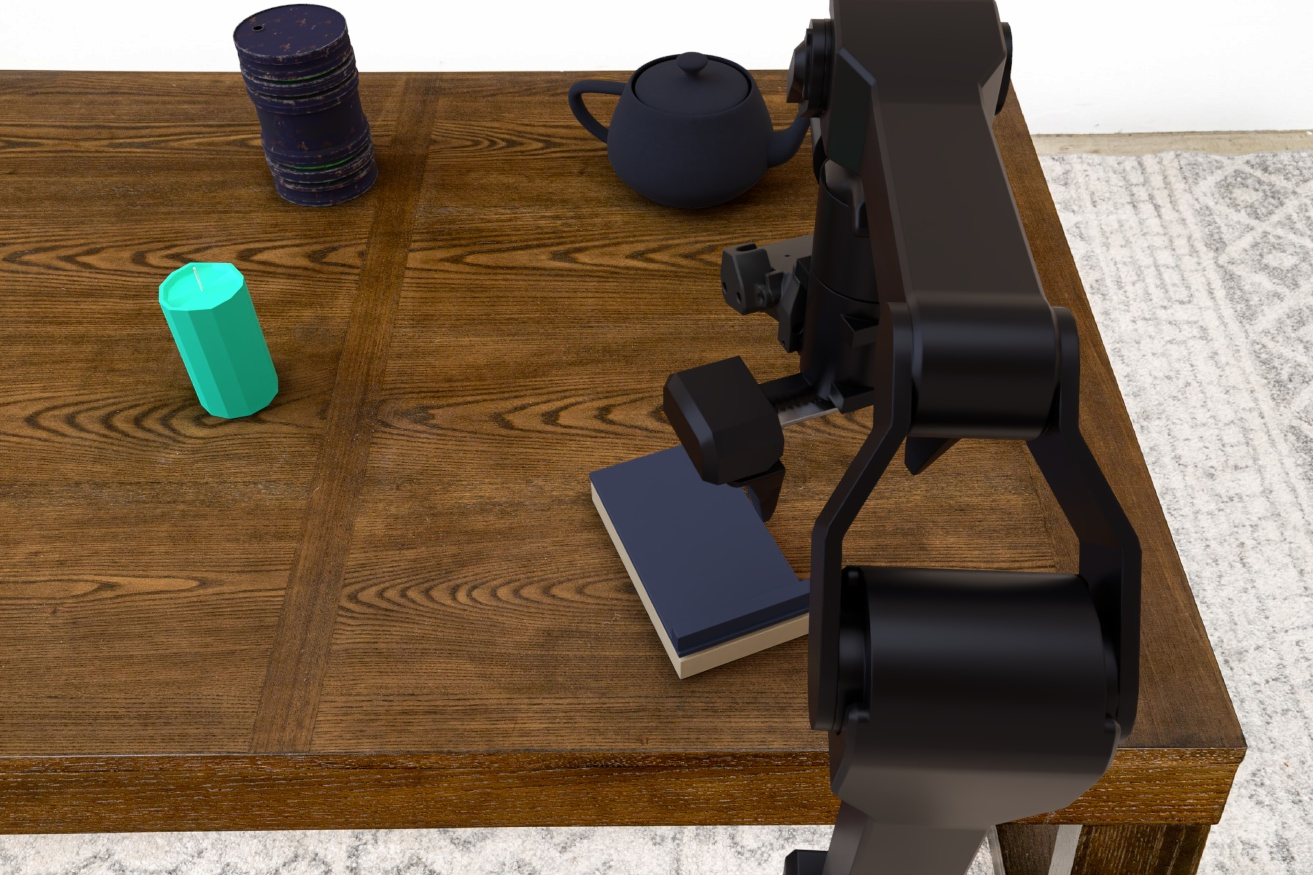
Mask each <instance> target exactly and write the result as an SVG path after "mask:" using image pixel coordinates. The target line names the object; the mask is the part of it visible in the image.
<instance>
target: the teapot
mask: <svg viewBox="0 0 1313 875" xmlns="http://www.w3.org/2000/svg"><path fill="white" fill-rule="evenodd" d="M583 94H601V95H602V94H603V95H612V96H618V97H619V99H618V101H617V102H616V105H615V108H614V110H613V112H612V116H611V119H610V122H609V128H607V127H606V126H605V125H603V124H601V122H599V120H597V119H596V117H594V116H593V114H592V113H591V112H590V111H589V109H588V108H587V106H586V104H585V102H584V98H583V96H582V95H583ZM762 94H763V93H762V92H761V90H760V88H759V86H758V83H757V81H756V80H755V77H754V76H753V74H751V72H750V71H749V70H747V68H745V67H744V66H742V65H741V64H740V63H738V62H736V61H734V60H731V59H728V58H726V57H722V56H718V55H715V54H714V55H713V54H706V53H702V52H698V51H685V52H682V53H675V54H669V55H664V56H660V57H658V58H655V59H652V60H649V61H648V62H646V63H643V65H640V66H639V67H638V68H637V69H635V71H634V72H633V73H632V74H631V75H630V77H629V78H628V80H627V82H622V81H617V80H616V81H615V80H604V79H581V80H578V81H576V82H574V83H573V84H572V85H571V86H570V87H569V89H568V93H567V100H568V101H567V102H568V105H569V109H570V111H571V112H572V114H573V116H574V117H575V120H577V121H578V123H579V124H580V125H581V126H582V127H583V128H584V129H585V130H586V132H589V133H590V134H591V135H592V136H593V137H595V138H596V139H597V140H599V141H601V142H602V143H604V144H606V151H607V157H608V161H609V163H610V165H611V168H612V170H613V171H614V173H615V175H617V176H618V178H619V179H620V180H621V181H622V182H623V183H624V184H625V185H626V186H628V187H629V188H630V189H632V190H633V191H634V192H636V193H638V194H640V195H641V196H643V197H644V198H646V199H647V200H650V201H652V202H654V203H656V204H658V205H661V206H662V205H663V206H666V207H671V208H677V209H695V210H696V209H705V208H711V207H716V206H719V205H723V204H725V203H728V202H730V201H733V200H734V199H736V198H737V197H739V196H740V195H742V194H744V193H746V192H748V191H749V190H750V189H752V188H753V187H754V186H756V184H758V183H759V182H760V181H761V180H762V179H763V178H764V176H765V175H766V174H767V172H768V170H769V169H773V168H777V167H780V166H783V165H784V164H786V163H788V162H789V161H790V160H792V158H794V157H795V155H796V154H797V153H798V152H799V150H800V148H801V146H802V144H803V142H804V140H805V138H806V137H807V136H806V135H807V133H808V131H809V129H810V118H799V111H798V112H797V113H796V115H795V118H794V120H793V122H792V123H791V124H790V126H788V127H787V128H785V129H780V130H774V125H773V120H772V118H771V115H770V112H769V108H768V106H767V104H766V101H765V100H764V97H763V95H762Z"/></svg>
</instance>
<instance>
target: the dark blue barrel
mask: <svg viewBox="0 0 1313 875" xmlns="http://www.w3.org/2000/svg"><path fill="white" fill-rule="evenodd" d="M232 40H233V44H234V48H235V50H236V52H237V57H238V62H239V69H240V72H241V76H242V80H243V81H244V83H245V91H246V94H247V96H249V100H250V101H251V102H252V103H253V105H254V107H255V111H256V115H257V117H258V122H259V125H260V128H261V129H260V143H261V146H262V148H263V150H264V157H265V160H266V163H267V166H268V168H269V169H270V173H271V175H272V178H273V182H274V186H275V190H276V192H277V193H278V194H279V196H280V197H281V198H282V199H284V200H286V201H287V202H289V203H292V204H293V205H294V204H295V205H298V206H303V207H311V208H315V207H316V208H317V207H319V208H320V207H330V206H336V205H340V204H343V203H346V202H349V201H353V200H355V199H357V198H358V197H360V196H362V195H364V194H365V193H366V192H367V191H369V190H370V189H371V188H372V187H373V185H374V184H375V183H376V181H377V179H378V176H379V170H378V165H377V161H376V160H375V157H376V156H375V145H374V140H373V136H372V133H371V126H370V123H369V120H368V117H367V115H366V114H365V113H364V111H363V107H362V102H361V97H360V92H359V88H358V87H359V84H360V79H359V78H360V76H359V75H360V73H359V69H358V67H357V60H356V54H355V50H354V46H353V45H352V41H351V37H350V35H349V27H348V23H347V18H346V17H345V16H344V14H342V13H341V11H338V10H336V9H335V8H332V7H330V6H326V5H322V4H315V3H288V4H281V5H277V6H272V7H269V8H265V9H262V10H259V11H257V12H255V13H253V14H251V15H249V16H247V17H245V18H244V19H243V20H242V21H240V22H239V23H238V24H237V25H236V26H235V28H234V30H233V32H232Z"/></svg>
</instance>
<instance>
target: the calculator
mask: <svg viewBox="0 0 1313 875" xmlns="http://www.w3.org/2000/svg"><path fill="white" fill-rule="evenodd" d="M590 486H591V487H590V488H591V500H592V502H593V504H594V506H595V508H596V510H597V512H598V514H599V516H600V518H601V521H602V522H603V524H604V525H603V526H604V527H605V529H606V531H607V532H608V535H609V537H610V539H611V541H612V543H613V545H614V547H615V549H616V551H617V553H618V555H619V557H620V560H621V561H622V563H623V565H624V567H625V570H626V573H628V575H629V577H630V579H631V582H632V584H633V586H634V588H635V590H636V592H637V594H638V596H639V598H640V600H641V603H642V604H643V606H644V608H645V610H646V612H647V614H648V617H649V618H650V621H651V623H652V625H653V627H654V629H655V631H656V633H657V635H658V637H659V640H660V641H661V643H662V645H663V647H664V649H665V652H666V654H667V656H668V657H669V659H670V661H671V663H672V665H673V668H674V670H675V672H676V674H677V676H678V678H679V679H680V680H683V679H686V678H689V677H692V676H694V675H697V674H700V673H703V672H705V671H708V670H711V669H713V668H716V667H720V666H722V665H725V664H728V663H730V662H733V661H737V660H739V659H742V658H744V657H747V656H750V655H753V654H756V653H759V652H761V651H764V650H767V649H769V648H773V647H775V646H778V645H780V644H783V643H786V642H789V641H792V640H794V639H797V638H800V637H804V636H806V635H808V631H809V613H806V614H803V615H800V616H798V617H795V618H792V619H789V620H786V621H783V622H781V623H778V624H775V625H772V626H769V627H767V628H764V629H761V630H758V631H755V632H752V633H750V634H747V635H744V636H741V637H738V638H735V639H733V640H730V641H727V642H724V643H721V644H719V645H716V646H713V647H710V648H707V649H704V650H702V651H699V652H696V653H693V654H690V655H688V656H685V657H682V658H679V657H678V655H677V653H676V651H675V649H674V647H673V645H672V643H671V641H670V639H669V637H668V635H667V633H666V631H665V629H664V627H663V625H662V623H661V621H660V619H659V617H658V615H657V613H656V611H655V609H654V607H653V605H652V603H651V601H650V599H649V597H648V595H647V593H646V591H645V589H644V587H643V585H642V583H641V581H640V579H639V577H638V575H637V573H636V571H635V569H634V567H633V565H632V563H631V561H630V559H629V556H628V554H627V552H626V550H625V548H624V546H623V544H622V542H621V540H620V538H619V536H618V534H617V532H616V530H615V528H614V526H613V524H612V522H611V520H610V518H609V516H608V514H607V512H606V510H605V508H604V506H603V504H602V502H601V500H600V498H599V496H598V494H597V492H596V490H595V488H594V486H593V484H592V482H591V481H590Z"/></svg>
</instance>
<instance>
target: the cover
mask: <svg viewBox="0 0 1313 875" xmlns="http://www.w3.org/2000/svg"><path fill="white" fill-rule="evenodd" d="M588 478H589V480H590V483H591V482H592V484H593V486H594V488H595V490H596V492H597V494H598V496H599V498H600V500H601V502H602V504H603V506H604V508H605V510H606V512H607V514H608V516H609V518H610V520H611V522H612V524H613V526H614V528H615V530H616V532H617V534H618V536H619V538H620V540H621V542H622V544H623V546H624V548H625V550H626V552H627V554H628V556H629V559H630V561H631V563H632V565H633V567H634V569H635V571H636V573H637V575H638V577H639V579H640V581H641V583H642V585H643V587H644V589H645V591H646V593H647V595H648V597H649V599H650V601H651V603H652V605H653V607H654V609H655V611H656V613H657V615H658V617H659V619H660V621H661V623H662V625H663V627H664V629H665V631H666V633H667V635H668V637H669V639H670V641H671V643H672V645H673V647H674V649H675V651H676V653H677V655H678V657H679V658H682V657H685V656H688V655H690V654H693V653H696V652H699V651H702V650H704V649H707V648H710V647H713V646H716V645H719V644H721V643H724V642H727V641H730V640H733V639H735V638H738V637H741V636H744V635H747V634H750V633H752V632H755V631H758V630H761V629H764V628H767V627H769V626H772V625H775V624H778V623H781V622H783V621H786V620H789V619H792V618H795V617H798V616H800V615H803V614H806V613H809V598H810V578H806V579H803V580H800V579H799V578H798V576H797V574H796V573H795V571H794V569H793V568H792V567H791V564H790V563H789V562H788V560H787V558H786V556H785V555H784V553H783V552H782V550H781V549H780V547H779V545H778V543H777V542H776V540H775V539H774V537H773V535H772V534H771V532H770V531H769V529H768V527H767V526H766V524H765V522H764V523H763V522H762V521H761V519H760V517H759V515H758V514H757V512H756V510H755V508H754V506H753V503H752V501H751V499H750V497H748V496H749V495H747V493H746V492H745V490H744V488H743V487H740V488H734V487H731V486H729V485H727V484H726V483H725V484H722V485H714V484H711V483H708V482H705V481H702V479H701V477H700V476H699V474H698V472H697V470H696V468H695V467H694V465H693V463H692V461H691V460H690V458H689V456H688V454H687V452H686V451H685V449H684V447H683V445H682V444H679V445H675V446H673V447H670V448H666V449H663V450H659V451H655V452H652V453H650V454H646V455H643V456H640V457H636V458H633V459H630V460H629V459H628V460H626V461H623V462H619V463H615V464H613V465H610V466H606V467H604V468H600V469H596V470H594V471H590V472H589V473H588Z"/></svg>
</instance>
